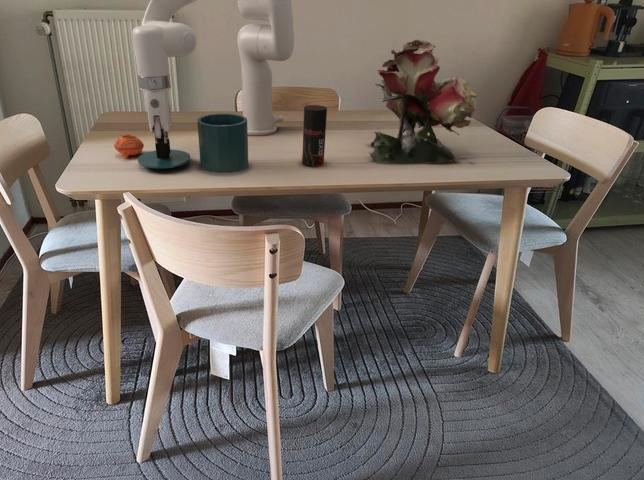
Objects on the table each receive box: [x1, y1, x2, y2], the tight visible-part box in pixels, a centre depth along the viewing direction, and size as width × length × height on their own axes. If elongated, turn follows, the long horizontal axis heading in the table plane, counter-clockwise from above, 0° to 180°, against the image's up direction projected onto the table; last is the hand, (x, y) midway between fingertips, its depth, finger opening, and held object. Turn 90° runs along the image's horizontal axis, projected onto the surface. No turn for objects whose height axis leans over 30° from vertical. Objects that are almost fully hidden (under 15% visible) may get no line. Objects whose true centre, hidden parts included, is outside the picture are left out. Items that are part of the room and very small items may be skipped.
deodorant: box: [301, 104, 328, 168], centre depth 133 cm, size 6×6×15 cm
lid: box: [137, 138, 191, 169], centre depth 130 cm, size 14×14×6 cm
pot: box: [113, 133, 145, 160], centre depth 137 cm, size 8×8×7 cm
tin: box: [196, 113, 249, 174], centre depth 130 cm, size 13×13×12 cm
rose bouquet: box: [367, 38, 478, 165], centre depth 141 cm, size 26×29×30 cm
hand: (163, 155), depth 130 cm, fingers closed on lid, 2 cm apart
